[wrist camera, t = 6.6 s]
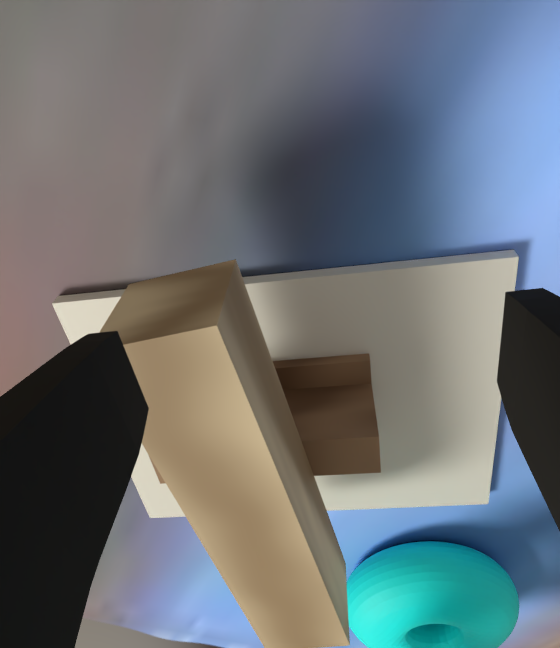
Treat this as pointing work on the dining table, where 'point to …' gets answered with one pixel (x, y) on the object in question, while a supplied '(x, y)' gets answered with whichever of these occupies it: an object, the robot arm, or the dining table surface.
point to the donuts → (431, 598)
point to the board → (380, 368)
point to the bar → (234, 452)
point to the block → (332, 412)
